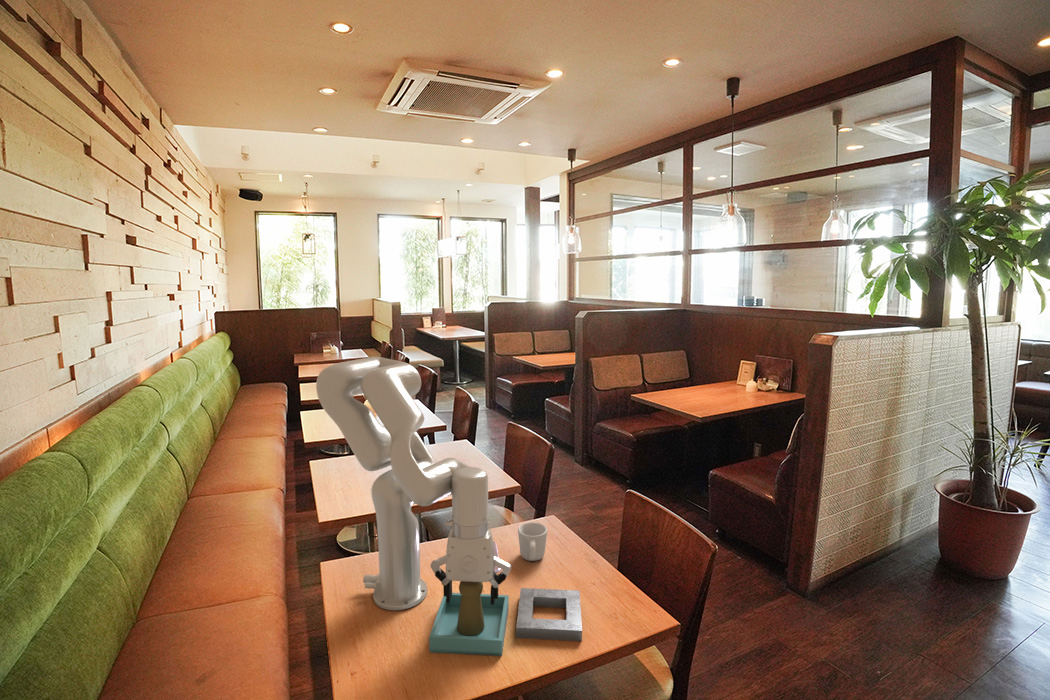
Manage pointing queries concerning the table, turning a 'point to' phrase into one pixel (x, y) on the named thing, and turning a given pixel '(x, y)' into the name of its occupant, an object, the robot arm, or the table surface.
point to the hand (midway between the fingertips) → (471, 599)
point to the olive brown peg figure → (470, 609)
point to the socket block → (549, 627)
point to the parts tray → (484, 643)
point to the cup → (532, 540)
